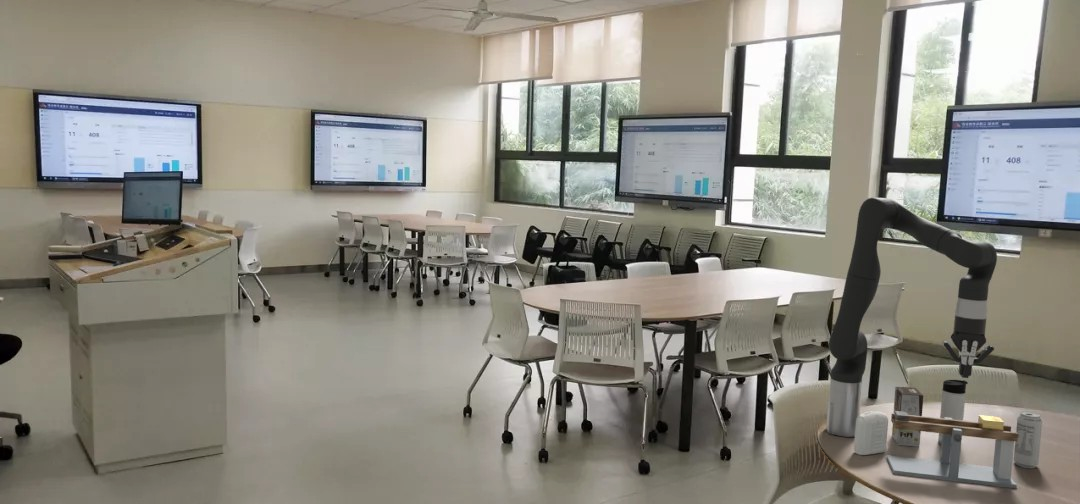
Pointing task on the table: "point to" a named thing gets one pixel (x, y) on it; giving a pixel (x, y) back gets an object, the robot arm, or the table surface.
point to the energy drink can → (1028, 439)
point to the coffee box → (913, 405)
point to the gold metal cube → (990, 423)
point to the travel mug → (953, 401)
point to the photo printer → (871, 433)
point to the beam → (949, 426)
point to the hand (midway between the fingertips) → (964, 377)
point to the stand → (959, 464)
